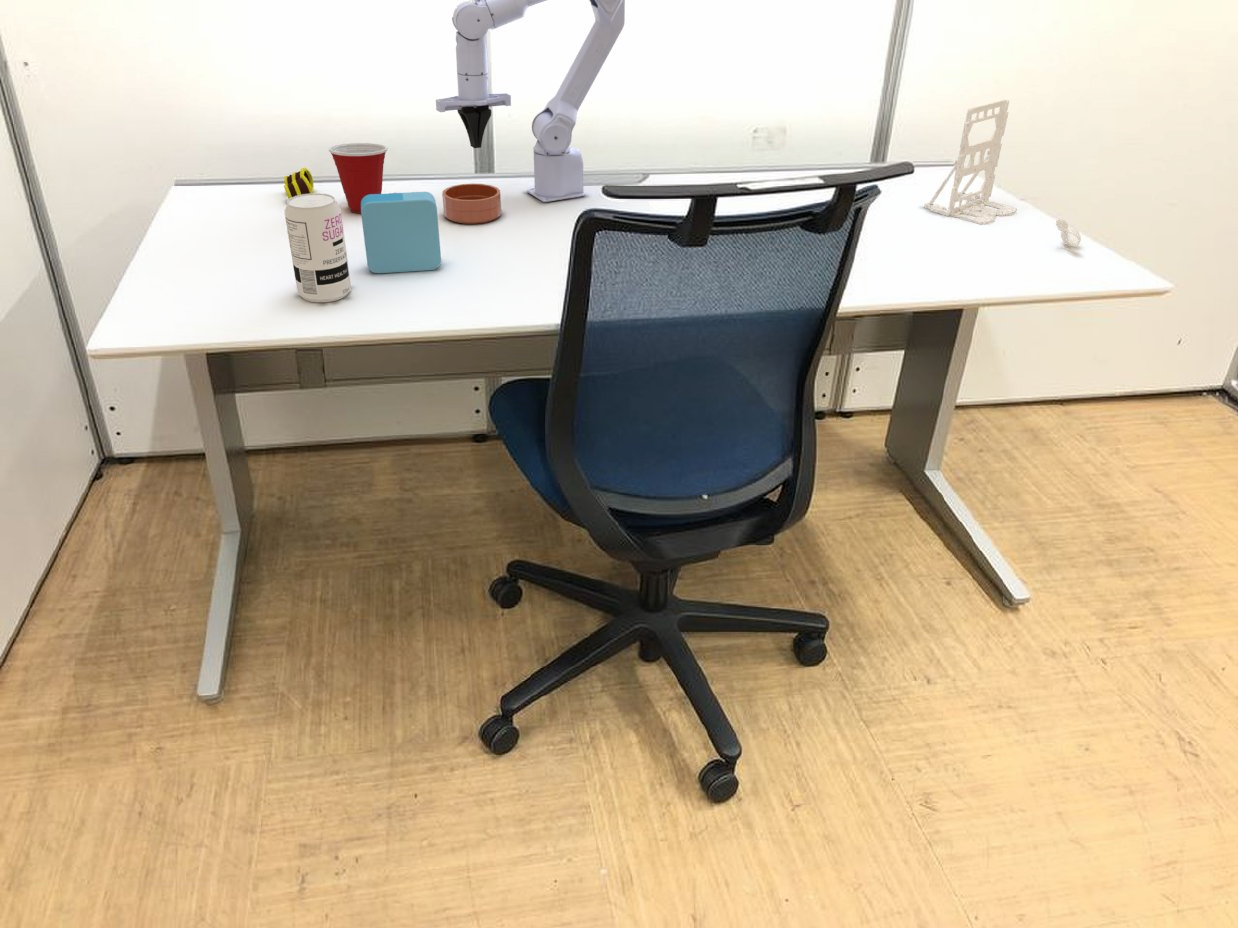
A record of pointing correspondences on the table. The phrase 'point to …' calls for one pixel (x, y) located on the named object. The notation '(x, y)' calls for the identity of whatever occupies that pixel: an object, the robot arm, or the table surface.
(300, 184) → the opera glasses
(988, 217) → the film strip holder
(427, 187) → the table surface
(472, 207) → the bowl
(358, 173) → the plastic cup
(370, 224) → the light blue rounded block
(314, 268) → the supplement can
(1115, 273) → the table surface
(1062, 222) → the rabbit figurine
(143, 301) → the table surface
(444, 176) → the table surface
